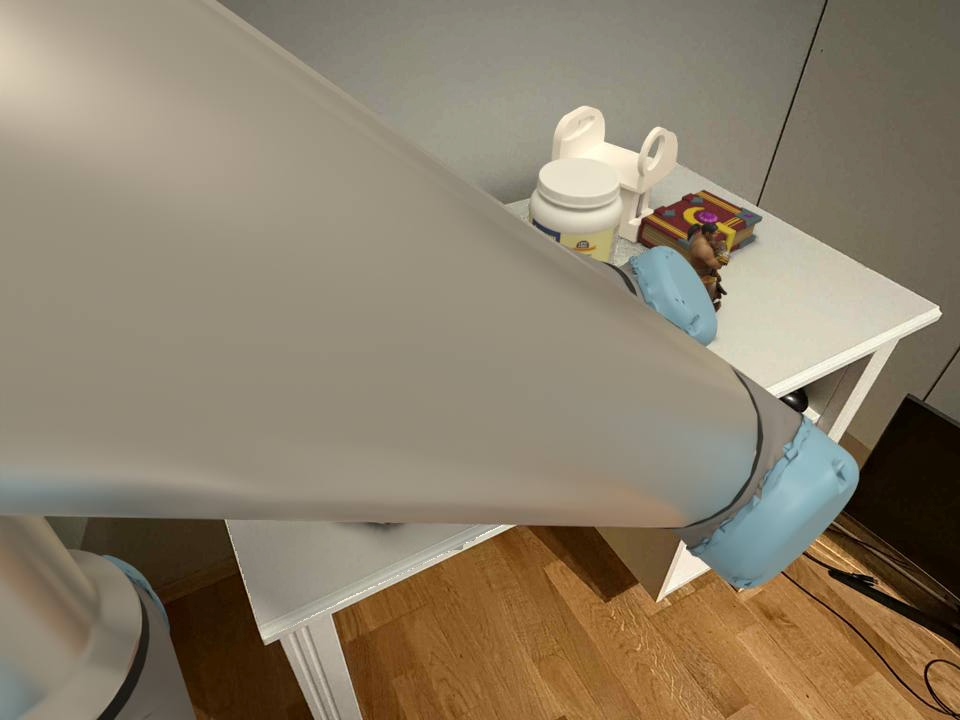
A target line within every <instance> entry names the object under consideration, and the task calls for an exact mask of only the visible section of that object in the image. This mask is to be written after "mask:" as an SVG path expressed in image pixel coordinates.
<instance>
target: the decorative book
mask: <svg viewBox="0 0 960 720" xmlns="http://www.w3.org/2000/svg"><path fill="white" fill-rule="evenodd" d="M653 210H654V212H653V213H652V214H650V215H648V216H646V217H644V218H642V219H641V224H640V229H639V234H638V239H637V241H638V242H640V243H642V244H644V245H645V246H647V247H648V248H649V249H651V248H653V247H658V246H667V247H670V248H672V249H674V250H676V251H677V252H678V253H679V254H681V255H682V256H683V257H684V258H685V259H686V260H687V261H688V263H689V264H690V265H691V263H690V256H689V253H688V252H689V247H690V244H691V241H692V239H693V237H694V236H695V235H696V234H697V233H699V232H701V231H702V229H699V230H698V231H696V232H695V233H693V235H692V237H691V238H690V240H689V241H688V240H687V233H688V229H689V228H690V227H691V226H692V225H694V224H695V223H699V224H700V225H703V224H705V223H709V222H711V223H715V224H716V225H717V226H718V230H717V237H716V238H715V239H714V243H719V242H721V241H724V240H725V242H726V244H727V248H728V253H729V254H730V253H731V252H732V251H734V250H736V249H741V248H743V247H744V246H747V245H748V244H750V243H752V242H754V241H755V240H756V238H757V235H754V234H753V232H754V229H755V226H756V225H758V224H759V223H760V222H762V221H763V216H761V215H759V214H758V213H757V212H753V211H752V210H749V209H747V208H745V207H743V206H741V207H740V206H738V205H736V204H734V203H732V202H729V201H727V200H726V199H723V198H722V197H719V196H718V195H715V194H714V193H711V192H710V191H708V190H706V189H702V190H700V191H698V192H695V193H692V192H689V193H687V194H685V195H683V196H681V199H680V200H678V201H676V202H674V203H672V204H669V205H667V206H665V205H661V206H659V207H657V208H654V209H653Z"/></svg>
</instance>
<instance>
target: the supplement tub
mask: <svg viewBox="0 0 960 720" xmlns="http://www.w3.org/2000/svg"><path fill="white" fill-rule="evenodd" d="M531 193H532V194H531V196H530V198H529V201H528V202H529V203H528V219H527V221H528V222H530V223H531V224H532V225H534V226H535V227H537V228H538V229H539V230H541V231H542V232H544V233H545V234H547V235H548V236H549V237H551V238H552V239H554V240H555V241H556V242H558V243H560V244H563V245H565V246H567V247H569V248H572V249H574V250H576V251H578V252H580V253H583V254H585V255H587V256H589V257H592V258H594V259H596V260H598V261H602V262H606V263H610V264H613V265H614V261H615V255H616V249H617V244H618V239H619V236H618V234H619V228H620V223H621V217H622V213H623V204H622V200H621V197H620V195H619V193H620V176H619V174H618V172H617V171H616V170H615V169H614V168H612V167H611V166H609V165H608V164H605V163H603V162H600V161H597V160H593V159H588V158H575V157H573V158H562V159H558V160H554V161H552V162H551V161H549V162H547V163H545V164H544V165H543V166H542V167H541V168H540V170H539V172H538V179H537V182H536V188H535V189H534V190H533V192H531Z"/></svg>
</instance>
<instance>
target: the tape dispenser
mask: <svg viewBox="0 0 960 720" xmlns="http://www.w3.org/2000/svg"><path fill="white" fill-rule="evenodd" d="M605 135H606V123H605V118H604V115H603V113H602V112H601V110H599V109H598V108H595V107H592V106H589V105H581V106H579V107H577V108H575V109H574V110H572V111H570V112H569V113H566V114H565V115H563V117H561V119H560V120H559V122H558V123H557V125H556V128H555V129H554V133H553V138H552V150H551V161H550V162H552V161H554V160H558V159H562V158H573V157H575V158H588V159H593V160H597V161H600V162H603V163H605V164H608V165H609V166H611V167H612V168H614V169H615V170H616V171H617V172H618V174H619V176H620V193H619V195H620V197H621V200H622V204H623V213H622V217H621V223H620V228H619V234H618V237H620V238H622V239H625V240H627V241H630V242H633V243H636V242H637V241H638V240H637V239H638V234H639V229H640V224H641V219H642V218H644V217H646V216H648V215H650V214H652V213H653V212H654V210H655V209H653V208H650V207H649V203H650V199H651V193H652V189H653V186H654V185H656V184H657V183H658V182H659V181H660V180H662V179H663V178H665V177H667V175H669V174H670V173H671V172H672V171H674V170H675V166H676V163H677V158H678V151H679V150H678V149H679V147H678V146H679V145H678V144H679V143H678V138H677V135H676V134H675V133H674V132H673V131H669V130H667V129H666V128H664V127H661V126H656V127H654V128H653V129H652V130H651V131H650V132H649V133H648V134H647V136H646V138H645V140H644V141H643V143H642V146H641V148H640V152H636V151H633V150H630V149H627V148H624V147H621V146H618V145H615V144H613V143H609V142H606V141H605V137H606V136H605ZM658 137H659V140H658V141H659V142H658V147H657V151H656V154H655V156H654V157H651V156H648V155H649V152H650V150H651V148H652V146H653V143H654V142H655V141H656V140H657V138H658Z"/></svg>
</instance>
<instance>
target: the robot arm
mask: <svg viewBox="0 0 960 720" xmlns="http://www.w3.org/2000/svg"><path fill="white" fill-rule="evenodd" d="M717 331H718V317H717V312H716V313H715V309H714V306H713V304H712V301H711V299H710V297H709V294H708V292H707V290H706V288H705V286H704V284H703V283H702V281H701V279H700V278H699V276H698V275H697V273H696V272H695V270H694V269H693V268H692V266H691V265H690V264H689V263H688V261H687V260H686V259H685V258H684V257H683V256H682V255H681V254H679V253H678V252H677V251H676V250H674V249H672V248H670V247H667V246H658V247H653V248H649V249H647V250H645V251H643V252H641V253H639V254H637V255H632V256H630V257H629V258H627V262H624V263H623V264H622V265H620V266H618V265H615V264H614V263H613V264H610V263H606V262H602V261H598V260H596V259H594V258H592V257H589V256H587V255H585V254H583V253H580V252H578V251H576V250H574V249H572V248H569V247H567V246H565V245H563V244H560V243H558V242H556V241H555V240H554V239H552V238H551V237H549V236H548V235H547V234H545V233H544V232H542V231H541V230H539V229H538V228H537V227H535V226H534V225H532V224H531V223H530V222H528V219H525V218H524V217H522V216H521V215H520V214H518V213H517V212H516V211H514V210H513V209H511V208H510V207H509V206H507V205H506V204H505V203H503V202H501V201H500V200H499V199H497V198H496V197H495V196H493V195H491V194H490V193H489V192H487V191H486V190H485V189H483V188H482V187H480V186H479V185H477V184H476V183H475V182H473V181H471V180H470V179H469V178H468V177H466V176H465V175H464V174H462V173H461V172H459V171H458V170H457V169H455V168H454V167H452V166H451V165H449V164H448V163H447V162H445V161H443V160H442V159H440V158H439V157H438V156H436V155H435V154H433V153H432V152H431V151H429V150H428V149H427V148H425V147H424V146H423V145H421V144H419V143H418V142H417V141H415V140H414V139H412V138H411V137H410V136H408V135H407V134H406V133H404V132H402V131H401V130H400V129H398V128H397V127H396V126H394V125H393V124H391V123H390V122H389V121H387V120H386V119H384V118H383V117H382V116H380V115H378V114H377V113H376V112H374V111H373V110H371V109H370V108H369V107H367V106H366V105H364V104H363V103H362V102H361V101H359V100H357V99H356V98H355V97H353V96H352V95H350V94H349V93H348V92H346V91H345V90H343V89H342V88H341V87H339V86H338V85H336V84H335V83H333V82H332V81H331V80H329V79H328V78H326V77H325V76H324V75H322V74H321V73H320V72H318V71H316V70H315V69H314V68H312V67H311V66H309V65H308V64H306V63H305V62H304V61H302V60H301V59H299V58H298V57H297V56H295V55H294V54H292V53H291V52H290V51H288V50H287V49H285V48H284V47H283V46H282V45H280V44H279V43H277V42H276V41H274V40H272V39H271V38H270V37H268V36H267V35H266V34H265V33H262V32H261V31H260V30H258V29H257V28H256V27H254V26H253V25H252V24H250V23H249V22H247V21H246V20H245V19H244V18H241V17H240V16H239V15H237V14H236V13H235V12H234V11H232V10H230V9H229V8H227V7H226V6H225V5H223V4H222V3H221V2H219V1H218V0H0V720H197V717H196V714H195V710H194V707H193V704H192V701H191V697H190V695H189V691H188V689H187V685H186V682H185V679H184V677H183V673H182V669H181V667H180V664H179V660H178V657H177V653H176V651H175V648H174V644H173V642H172V638H171V635H170V629H171V627H170V624H169V618H168V615H167V612H166V610H165V608H164V607H165V606H164V605H163V603H162V601H161V600H160V598H159V597H158V595H157V593H156V592H155V591H154V590H153V588H152V586H151V584H150V583H149V580H148V579H146V577H145V576H144V575H143V574H142V573H141V572H140V571H139V570H137V568H135V567H134V566H133V565H131V564H129V563H127V562H126V561H124V560H122V559H119V558H118V557H114V556H112V555H109V554H108V555H107V554H103V555H99V554H97V553H93V552H91V551H86V550H81V549H74V548H73V549H72V548H66V547H65V545H64V544H63V541H62V540H61V539H60V538H59V536H58V535H57V534H56V532H55V531H54V529H53V528H52V526H51V525H50V523H49V522H48V520H47V519H46V517H73V518H74V517H75V518H79V517H80V518H123V519H124V518H127V519H130V518H133V519H177V520H178V519H179V520H180V519H181V520H228V521H229V520H230V521H231V520H235V521H236V520H237V521H278V522H279V521H280V522H281V521H282V522H283V521H285V522H287V521H289V522H332V523H333V522H336V523H337V522H339V523H340V522H341V523H377V522H383V523H385V524H384V525H390V524H436V525H437V524H438V525H439V524H443V525H489V526H490V525H492V526H493V525H494V526H495V525H496V526H497V525H498V526H542V527H543V526H546V527H547V526H548V527H595V528H596V527H597V528H598V527H601V528H603V527H604V528H650V529H651V528H652V529H663V530H670V531H672V532H673V533H674V534H675V535H676V536H677V537H678V538H679V539H680V540H681V541H682V542H683V544H685V545H686V546H685V550H686V551H688V553H690V555H691V556H692V557H695V558H697V559H699V560H701V562H703V563H704V564H705V565H706V566H708V567H709V568H710V569H711V570H712V571H713V572H714V573H716V574H717V575H718V576H719V577H721V578H722V579H723V580H724V581H725V582H727V583H728V584H729V585H731V586H733V587H734V588H738V589H744V590H750V589H754V588H757V587H761V586H762V585H764V584H766V583H768V582H769V581H771V580H773V579H774V578H775V577H776V576H777V575H779V574H780V573H781V572H783V571H784V570H786V569H787V568H788V567H789V566H790V565H791V564H792V563H793V562H795V560H797V559H798V558H799V557H800V556H801V555H802V554H803V553H804V552H805V551H806V550H807V549H809V547H810V546H811V545H812V544H813V543H814V542H815V541H816V540H817V539H818V538H819V537H820V536H821V535H822V534H823V533H824V532H825V531H826V529H827V528H829V527H830V525H831V524H832V523H833V522H834V520H835V519H837V517H838V516H839V515H840V513H841V512H842V511H843V510H844V508H845V507H846V505H847V504H848V502H849V501H850V499H851V498H852V496H853V495H854V493H855V491H856V489H857V488H858V487H857V486H858V484H859V481H860V471H859V466H858V463H857V461H856V459H855V458H854V457H853V456H852V454H851V453H849V452H848V450H846V449H845V448H844V447H842V446H841V445H840V444H839V443H837V442H836V441H835V440H834V439H832V438H831V437H829V435H827V434H826V433H825V432H823V431H822V430H821V429H820V428H818V427H817V426H816V425H815V424H814V421H813V420H812V419H811V418H809V417H808V416H807V415H805V414H804V413H802V411H796V410H794V409H793V408H792V407H791V406H789V405H788V404H786V403H785V402H783V401H782V400H781V399H780V398H778V397H777V396H775V395H774V394H773V393H771V392H769V390H767V389H765V388H764V387H763V386H761V385H760V384H759V383H758V382H756V381H755V380H754V379H752V378H750V377H749V376H748V375H746V374H745V373H744V372H742V371H741V370H739V369H738V368H737V367H735V366H734V365H733V364H731V363H729V362H728V361H726V360H725V359H724V358H722V357H721V356H719V355H718V354H716V353H715V352H714V351H712V350H711V349H710V348H708V346H710V344H712V343H713V341H714V340H715V337H716V335H717Z"/></svg>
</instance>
